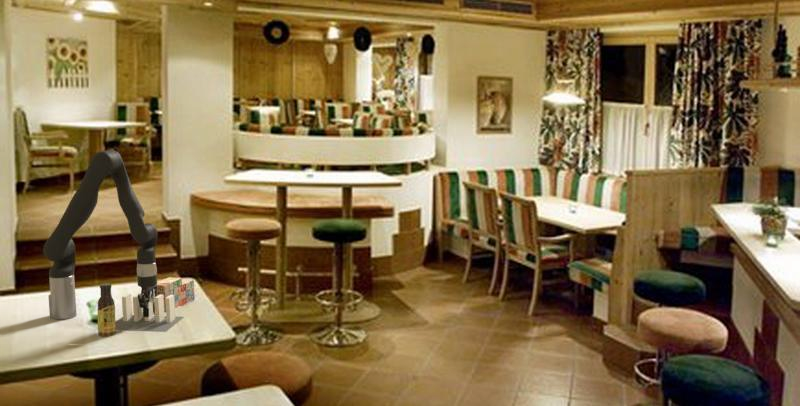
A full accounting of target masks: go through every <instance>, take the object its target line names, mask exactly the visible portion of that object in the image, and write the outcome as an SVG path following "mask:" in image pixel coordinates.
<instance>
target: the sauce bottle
mask: <svg viewBox="0 0 800 406" xmlns="http://www.w3.org/2000/svg"><path fill="white" fill-rule="evenodd" d="M99 288H100V297H99V299H98V301H97V333H98V336H99V337H101V338H102V337H111V336H114V335H115V334H116V331H117V330H116V326H115V322H116V305H115V301H114V299H113V296H112V283H110V282H104V283H100V284H99Z"/></svg>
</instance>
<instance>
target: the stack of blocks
mask: <svg viewBox="0 0 800 406" xmlns="http://www.w3.org/2000/svg"><path fill="white" fill-rule="evenodd" d="M194 285H195V281H194V279H187V278H181V277H171V276H170V277H167V278H164V279H162V280H160V281H157V285H155V286H157V287H158V289H157V296H158V295H163V297H164V314H166V301H165V298H166V297H168V296H169V295H174V303H175V309H177V308H178V307H183V306H185V305H186V303H187V304H189V303H191V302H193V301H195V300H194V299H196V297H195V286H194ZM192 300H193V301H192ZM190 301H191V302H190ZM188 302H189V303H188ZM184 304H185V305H184ZM182 305H183V306H182ZM154 309H155V304H154Z"/></svg>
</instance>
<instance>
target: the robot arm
mask: <svg viewBox="0 0 800 406" xmlns="http://www.w3.org/2000/svg"><path fill="white" fill-rule="evenodd" d="M108 175H109V176H110V177H111V180H112V181H113V182H114V185H115V188H116V191H117V192H116V193H117V199H118V203H119V206H120V208H121V210H122V212H123V213H124V216H125V218H126V219H127V223H128V229H129V231H130V235H131V236H132V238H133V240H134V241H135V242H136V243H138V244H140V246H139V248H138V249H137V251H136V263H137V264H136V277H137V286H138V287H140V289H141V291H140V293H137V294H138V300H139V306H140V308H143V316H144V317H149V302H150V301H151V298H152V300H153V313H154V314H155V309H154V304H155V299H154V298H155V297H157V289H158V287H157V286H155V285H157V282H158V268H157V263H156V262H157V261H156V248H157V243H158V230H157V227H156V226H155V225H154V224H153V223H151V222H150V223H149V222H147V223H145V221H144V217H145V211H144V209H143V207H142V205H141V203H140V200H139V199H138V198H137V195H136V194H135V192H134V188H133V186H132V182H131V181H130V178H129V175H128V173H127V169H126V167H125V163H124V161H123V158H122V155H121V154H120V153H119V152H118V151H116V150H114V149H107V150H100V151H98V152H96V153H95V154H94V155H93V156H92V158H91V160H90V162H89V165H88V167H87V169H86V171H85V174H84V177H83V179H82V180H81V182H80V184H79V185H78V188H77V189H76V190H75V193H74V194H73V196H72V197H71V200H70V201H69V203H68V204H67V207H66V209H65V211H64V213H63V214H62V216H61V218H60V220H59V222H58V224H57V226H56V228H55V229H54V230H53V231H52V233H51V234H50V236H49V237H48V239H47V240H46V241H45V243H44V245H43V249H42V250H43V252H42V253H43V254H44V255H43V256H44V257H45V259H46V260H47V261H50V262H53V263H52V266H51V267H50V268H49V271H48V274H49V276H48V277H49V279H48V280H49V290H50V294H48V307H49V308H48V309H49V318H50V319H53V320H68V319H72V318H74V317H76V316H77V300H76V299H77V298H76V286H75V285H76V284H75V269H76V263H77V261H76V244H75V242H74V240H73V239H72V238H73V237H74V235H75V234H76V233H77V232H78V231H79V230H80V229H81V228H82V227H83V226H84V224H85V223H86V222H87V221H88V220H89V218H90V217H91V215H92V214H93V212H94V210H95V208H96V206H97V204H98V199H99V191H100V188H101V186H102V184H103V182H104V181H105V179H106V178H107V176H108ZM152 296H153V297H152ZM145 298H148V300H146V299H145ZM146 302H147V304H146Z"/></svg>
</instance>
